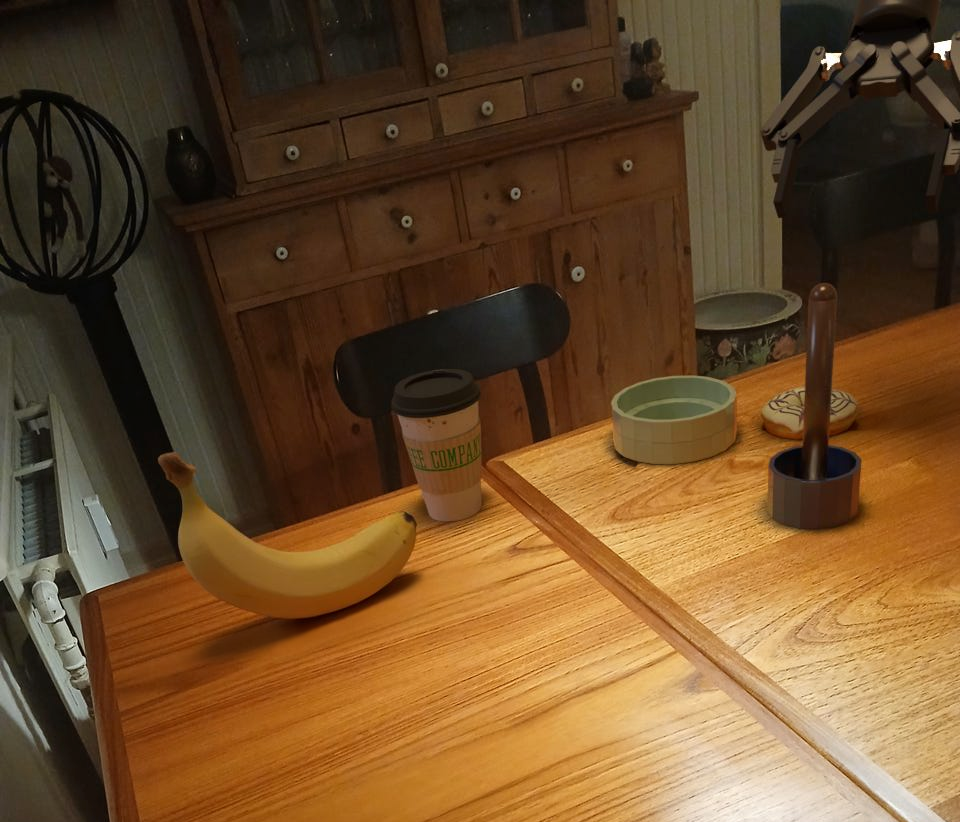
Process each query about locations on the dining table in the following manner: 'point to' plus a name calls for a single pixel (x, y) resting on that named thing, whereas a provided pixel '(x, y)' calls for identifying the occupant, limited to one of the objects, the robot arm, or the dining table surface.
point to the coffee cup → (443, 439)
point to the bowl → (674, 419)
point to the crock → (813, 490)
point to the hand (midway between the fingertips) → (852, 207)
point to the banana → (284, 559)
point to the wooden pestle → (818, 381)
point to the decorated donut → (788, 413)
